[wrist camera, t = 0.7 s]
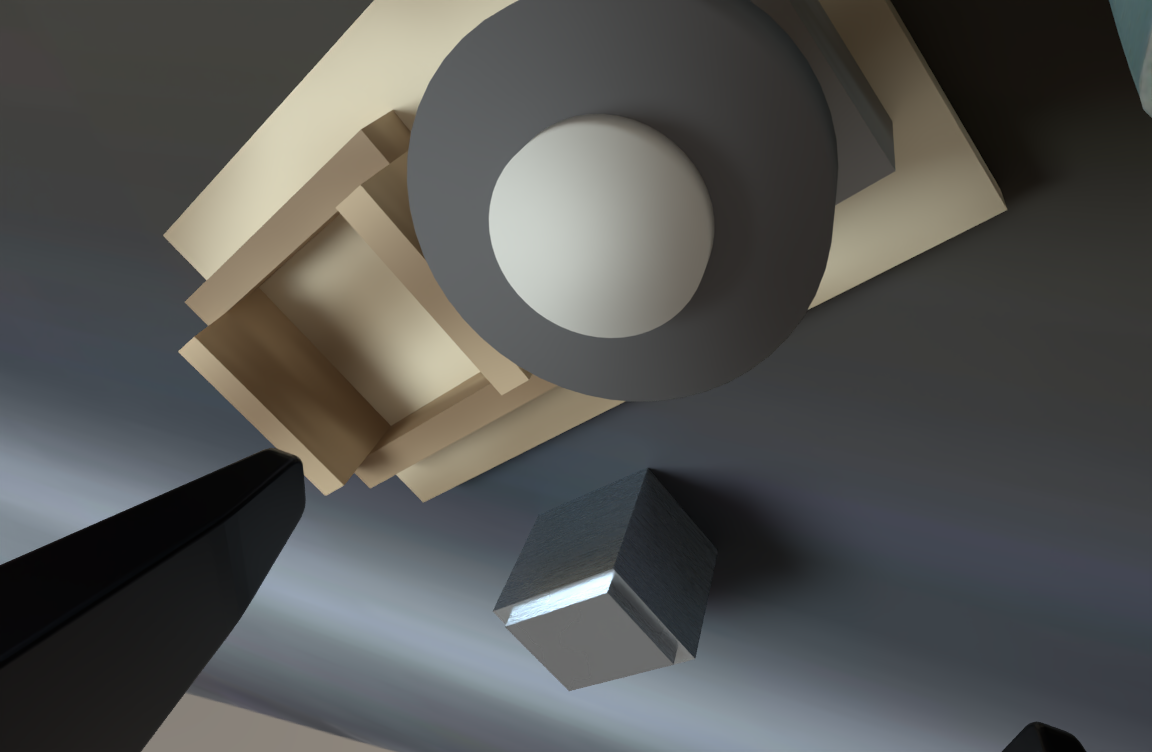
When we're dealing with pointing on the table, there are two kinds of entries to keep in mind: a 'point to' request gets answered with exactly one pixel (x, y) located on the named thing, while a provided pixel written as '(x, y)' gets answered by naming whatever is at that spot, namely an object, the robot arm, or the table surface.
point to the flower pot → (1137, 43)
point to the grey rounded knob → (626, 190)
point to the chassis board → (407, 286)
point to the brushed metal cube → (611, 584)
